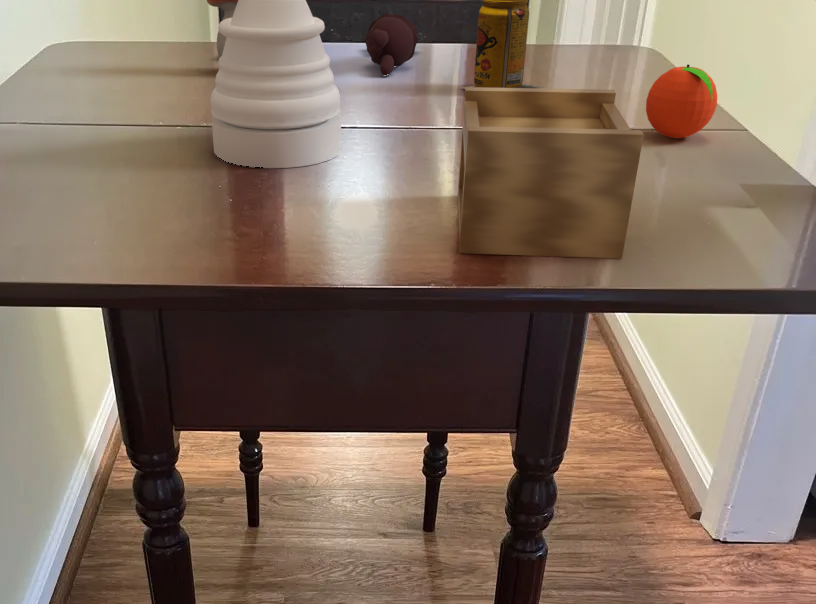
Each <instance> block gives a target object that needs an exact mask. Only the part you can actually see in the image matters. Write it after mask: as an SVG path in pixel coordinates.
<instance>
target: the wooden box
mask: <svg viewBox="0 0 816 604" xmlns="http://www.w3.org/2000/svg"><path fill="white" fill-rule="evenodd" d="M464 87H465V89H464V98H463V99H464V100H463V111H462V128H461V141H460V142H461V143H460V156H459V170H458V183H457V185H458V186H457V223H458V226H457V227H458V253H459V254H469V255H470V254H471V255H497V256H502V255H503V256H531V257H559V258H589V259H590V258H592V259H619V260H620V259H623V254H624V251H625V250H624V249H625V243H626V238H627V232H628V227H629V220H630V214H631V209H632V203H633V197H634V192H635V186H636V180H637V174H638V169H639V163H640V158H641V152H642V146H643V142H644V136H645V135H644V133H643V131H642V130H641V129H631V128H630V126H629V125H628V122H627V121H626V120H625V118H624V117H623V115H622V113H621V112H620V110H619V108H618V107H617V105H616V104H615V102H616V96H617V93H616V91H615V90H614V89H600V88H599V89H598V88H596V89H595V88H594V89H593V88H592V89H591V88H486V87H469V86H468V87H467V86H464Z"/></svg>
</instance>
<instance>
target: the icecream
mask: <svg viewBox="0 0 816 604" xmlns="http://www.w3.org/2000/svg"><path fill="white" fill-rule="evenodd" d="M417 33H418V30H417V27H416V26H415V24H413V23H411V22H410V21H409V20H408V19H407V18H406V17H404V16H403V15H400V14H390V13H384V14H382V15H381V16H380V17H378V18H377V19H375V20H373V22H371V23H370V25H369V27H368V31H367V34H366V35H365V40H364V42H365V43H364V44H365V46H366V52H367V53H368V55H369V57H370V60H371V62H372V63H374V64H376V65H377V66H379V69H380V73H381V75H382V74H383V75H387V74H389V75H390V74H391V73H392V72H393V71H394V68H395V67H394V66H397V67H400V66H402V65H403V64H405V63H406V62H408V61H410V60H411V59H413V57H414V56H415V55H414V54H415V51H416V47H417V44H418V42H419V38H418V35H417ZM383 75H382V76H383Z"/></svg>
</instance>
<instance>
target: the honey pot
mask: <svg viewBox="0 0 816 604" xmlns="http://www.w3.org/2000/svg"><path fill="white" fill-rule="evenodd" d="M222 20H223V19H222ZM222 20H221V21H220V22H219V24H218V28H217V29H218V30H219V32H220V33H221V34H222V35H224V36H226V37H227V38H226V41H225V46H224V50H223V54H222V56H221V57H220V58H219V59H218V61H217V66H218V71H217V73H216V75H215V79H214V83H215V87H214V88H213V90H212V91H211V95H210V101H209V104H210V109H211V110H210V114H211V115H212V117H211V132H212V145H213V154H214V153H215V154H216V155H217V157H219V158H221V159H222V160H221V159H220V160H221V161H223V160H224V161H223V162H225V161H226V162H225V163H228V162H229V163H228V164H231V163H233V164H232V165H235V164H236V165H235V166H240V165H242V166H241V167H246V166H249V167H248V168H255V167H260V168H259V169H291V168H300V167H306V166H307V167H308V166H313V165H318V164H321V163H324V162H328V161H330V160H332V159H334V158H336V157H338V156H339V155H340V153H341V152H342V116H341V112H342V110H341V103H342V98H341V94H340V93H341V92H340V90H339V89H338V86H337V85H336V84H335V76H334V72H333V71H332V69H331V66H330V65H331V59H330V57H329V55H328V54H327V53H326V50H325V47H324V43H323V41H322V38H321V35H320V34H322V33H323V32H324V31H325V29H326V26H325V21H323V20H322V19H321V18H319V17H317V16H313V14H312V10H311V9H310V6H309V5H308V2H307V0H238V3H237V6H236V8H235V11H234V14H233V17H232V18H228V19H225V20H223V21H222ZM215 154H214V155H215ZM216 155H215V156H216ZM217 157H216V158H217ZM219 158H218V159H219ZM261 167H263V168H261Z"/></svg>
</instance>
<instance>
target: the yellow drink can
mask: <svg viewBox="0 0 816 604" xmlns="http://www.w3.org/2000/svg"><path fill="white" fill-rule="evenodd" d="M481 1H482V6H481V7H480V9H479V10H478V18H477V34H476V50H475V63H474V76H473V77H474V79H473V84H474V85H470V86H463V87H462V86H459V88H460V89H463V90H465V87H486V88H543V89H546V86H543V85H542V86H541V85H536V84H530V83H526V82H524V74H525V73H524V71H525V61H526V54H527V53H526V50H527V42H528V33H529V32H528V30H529V20H530V10H529V7H528V2H529V0H481Z"/></svg>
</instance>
